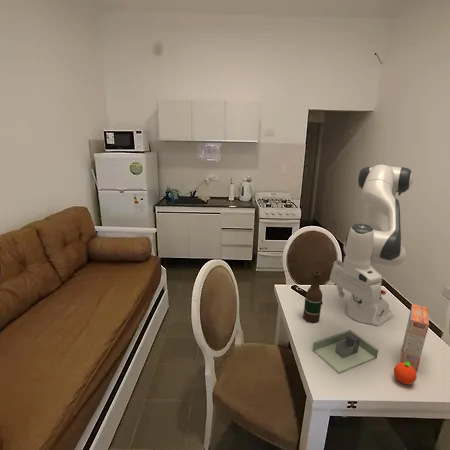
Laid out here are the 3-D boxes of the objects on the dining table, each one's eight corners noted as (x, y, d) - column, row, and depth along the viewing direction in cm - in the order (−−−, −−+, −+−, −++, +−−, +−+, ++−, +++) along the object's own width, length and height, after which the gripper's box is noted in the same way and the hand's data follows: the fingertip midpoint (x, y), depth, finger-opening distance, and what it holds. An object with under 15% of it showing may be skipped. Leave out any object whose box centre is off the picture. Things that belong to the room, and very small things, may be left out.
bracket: (342, 358, 120) (345, 343, 119) (335, 351, 124) (337, 337, 122) (357, 352, 124) (360, 338, 122) (349, 346, 127) (352, 332, 125)
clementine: (395, 369, 116) (398, 353, 114) (416, 378, 112) (420, 362, 110) (390, 381, 110) (393, 365, 108) (412, 392, 106) (416, 374, 104)
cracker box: (417, 374, 114) (429, 324, 109) (399, 367, 117) (409, 319, 112) (418, 352, 126) (429, 307, 120) (401, 347, 129) (411, 302, 123)
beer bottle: (308, 312, 153) (313, 267, 146) (322, 319, 147) (328, 272, 141) (299, 318, 147) (304, 271, 141) (314, 325, 142) (320, 277, 135)
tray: (348, 337, 134) (350, 329, 133) (376, 358, 122) (378, 349, 121) (312, 350, 125) (313, 342, 124) (338, 373, 113) (340, 364, 112)
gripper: (328, 259, 120) (324, 291, 124) (373, 282, 103) (367, 318, 107) (340, 257, 123) (336, 288, 127) (386, 278, 106) (379, 314, 110)
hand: (350, 302), depth 117 cm, fingers open, 8 cm apart
